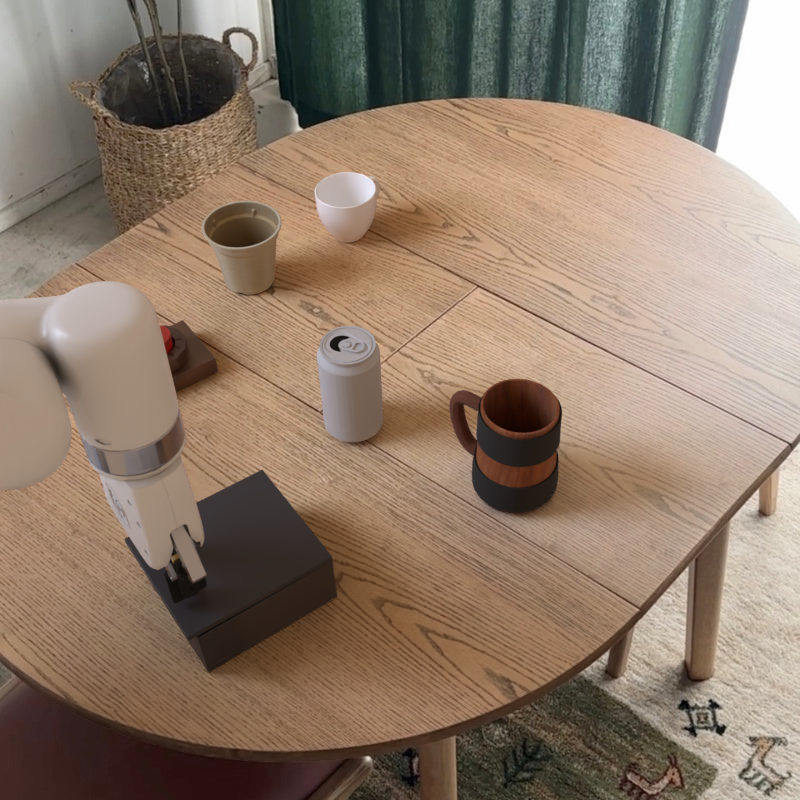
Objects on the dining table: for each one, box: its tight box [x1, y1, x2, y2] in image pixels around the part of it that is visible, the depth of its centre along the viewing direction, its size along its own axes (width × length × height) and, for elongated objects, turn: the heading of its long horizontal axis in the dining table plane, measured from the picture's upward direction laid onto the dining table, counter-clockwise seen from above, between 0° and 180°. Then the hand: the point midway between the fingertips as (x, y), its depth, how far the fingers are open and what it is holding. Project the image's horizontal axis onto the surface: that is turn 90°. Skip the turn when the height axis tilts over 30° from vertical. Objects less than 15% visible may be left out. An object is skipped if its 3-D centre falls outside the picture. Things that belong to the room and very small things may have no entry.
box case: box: [146, 560, 338, 673], centre depth 98 cm, size 14×13×6 cm
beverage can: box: [316, 325, 384, 443], centre depth 110 cm, size 6×6×12 cm
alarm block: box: [161, 319, 219, 393], centre depth 119 cm, size 10×8×4 cm
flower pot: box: [201, 199, 283, 296], centre depth 128 cm, size 9×9×9 cm
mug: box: [448, 378, 563, 515], centre depth 104 cm, size 9×12×12 cm
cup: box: [314, 171, 381, 243], centre depth 136 cm, size 8×10×7 cm
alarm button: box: [159, 324, 173, 354], centre depth 118 cm, size 4×4×2 cm
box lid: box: [124, 469, 334, 642], centre depth 94 cm, size 14×13×6 cm
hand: (173, 568), depth 93 cm, fingers closed on box lid, 5 cm apart
